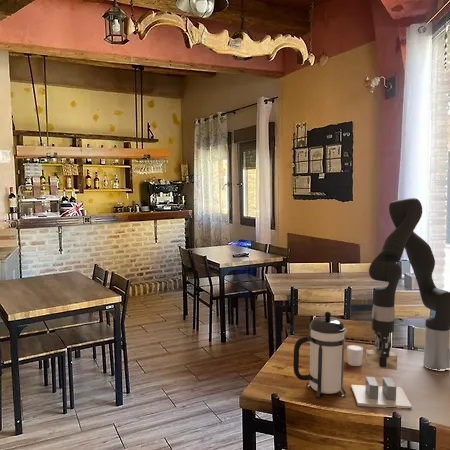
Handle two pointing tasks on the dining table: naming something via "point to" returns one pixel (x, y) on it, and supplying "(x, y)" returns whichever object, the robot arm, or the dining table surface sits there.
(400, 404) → the bridge base
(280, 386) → the dining table surface
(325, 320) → the coffee press
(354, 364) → the white cup
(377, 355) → the birch lintel
